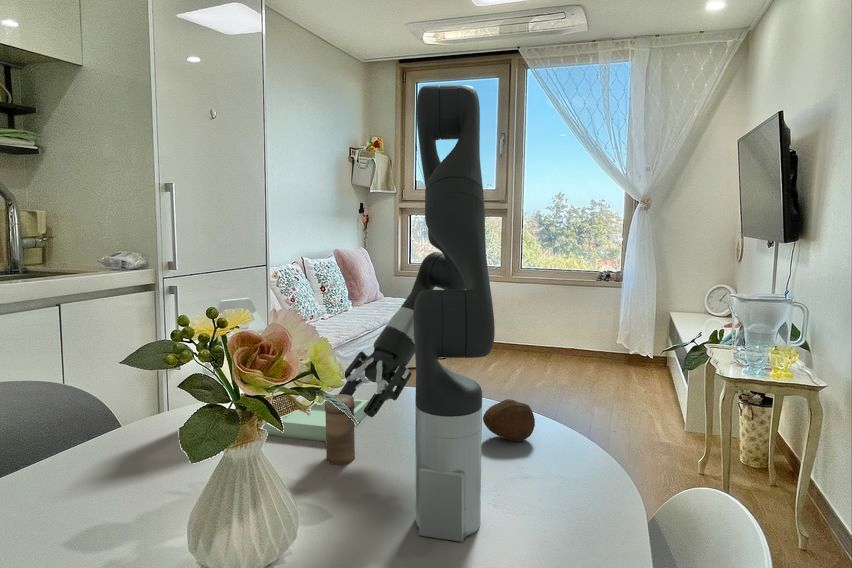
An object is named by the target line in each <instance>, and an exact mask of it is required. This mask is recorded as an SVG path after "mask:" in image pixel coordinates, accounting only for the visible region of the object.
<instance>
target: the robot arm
mask: <svg viewBox="0 0 852 568" xmlns="http://www.w3.org/2000/svg"><path fill="white" fill-rule="evenodd" d="M480 105H481V104H480V99H479V95H478V92H477V91H476V89H475V88H474V87H473V86H472V85H467V84H441V85H440V84H437V85H436V84H435V85H423V86H422V87H421V88H420V89H419V91H418V94H417V98H416V126H417V135H418V145H419V152H420V153H419V154H420V160H421V168H422V169H421V170H422V173H423V174H422V175H423V181H424V186H425V189H424V190H425V191H424V220H425V221H424V222H425V226H426V227H427V237H428V242H429V243H430V245H432V247H434V248H436V249H437V250H439V251H433V252H431V253H429V254H427V256H426V257H424V258H423V260H422V261H421V264H420V266H419V269H418V272H417V275H416V278H415V280H414V283H413V286H412V289H411V291H410V293H409V295H408V296H407V298H406V299H405V301H404V302H403V303H402V305H401V306H400V307H399V309H398V310H397V311H396V312H395V314H393V316H392V317H391V318H390V319H389V321H388V322H387V324H386V325H385V327H384V328H383V330H382V331H381V333H380V334H379V335H378V336H377V338H376V340H375V341H374V343H373V352H372V353H371V354H370V355H367V354H366V353H365V352H364V351H360V352H359V353H358V354H357V355H356V357H355V358H354V359H353V361H352V362H351V363H350V365H348V367H347V368H346V369H345V371H344V372H345V377H344V378H345V380H346V383H345V384H344V386H343V387H342V388H341V390H340V391H339V393H338V394H337V395H339V394H344V395H350V396H352V397H353V395H354V394H355V392H356V390H357V389H358V387H360V386H361V385H363V384H369V383H370V382H372V383H376V384H377V385H376V393H374V394H373V395H372V397H371V398H370V399H369V402H368V404H367V405H366V407H365V408H364V413H366V414H367V416H368V417H370V418H374V417H375V415H376V414H378V412H379V410H380V409H381V408H382V406H383V404H384V403H385V402H386V401H388V400H393V401H397V399H398V398H399V397H400V395H401V393H402V391H403V389H404V388H405V387H406V384H408V381H409V379H410V378H411V377H412V371H410V369H409V368H407V366H408V364H409V363H410V362H411V360H412V358H413V357H414V359H415V400H414V401H415V426H414V427H415V430H414V431H415V445H414V446H415V451H414V453H415V457H414V458H415V460H414V461H415V524H416V526H417V528H418V535H419V536H422V537H429V538H435V539H442V540H447V541H455V542H461V543H463V542H464V540H465V539H466V537H469V536H471V535H472V534H474V533H475V532H477V531H478V530H479V528H480V526H481V516H482V515H481V511H482V509H481V508H482V507H481V505H482V503H481V502H482V495H481V494H482V493H481V491H482V490H481V489H482V486H481V485H482V432H483V431H482V428H483V427H482V426H483V425H482V424H483V390H482V387H481V385H480V384H479V383H478V382H477V381H475V380H474V379H472V378H469V377H467V376H464V375H461V374H459V373H456V372H453V371H451V370H450V369H448V368H447V367H445V366H444V365H442V364H441V363H440V361H439V359H440V358H441V359H446V358H447V359H451V358H453V359H460V358H461V359H463V358H464V359H472V358H484V357H486V356H488V355H490V353H491V352H492V350H493V347H494V342H495V334H496V333H495V332H496V330H495V329H496V328H495V314H494V307H493V306H494V305H493V298H492V297H493V296H492V290H491V283H490V276H489V268H488V267H489V266H488V262H487V261H488V260H487V259H488V258H487V249H486V218H485V217H486V216H485V213H486V212H485V196H484V195H485V194H484V185H483V178H482V168H481V152H480V144H481V143H480V141H481V106H480ZM441 140H442V141H443V140H448V141H449V140H457V142H456V143H455V145H454V147H453V148H452V150H450V152H449V153H448V154H447V155H446V156H445V158H443V159H442V161H441V159H440V156H439V154H438V149H437V142H436V141H441ZM435 288H439V289H435ZM354 370H355V371H354ZM353 371H354V373H352V372H353ZM351 373H352V374H351ZM395 387H396V388H395Z"/></svg>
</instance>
